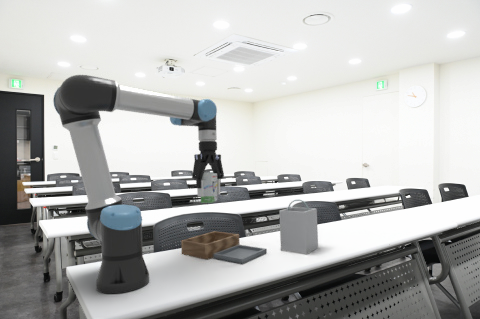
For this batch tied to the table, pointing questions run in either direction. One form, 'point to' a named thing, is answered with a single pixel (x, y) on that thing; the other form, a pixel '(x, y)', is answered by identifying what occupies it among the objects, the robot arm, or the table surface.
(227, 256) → the tray
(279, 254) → the table surface
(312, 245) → the caddy
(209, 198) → the ink box
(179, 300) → the table surface
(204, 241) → the crate
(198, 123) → the robot arm
